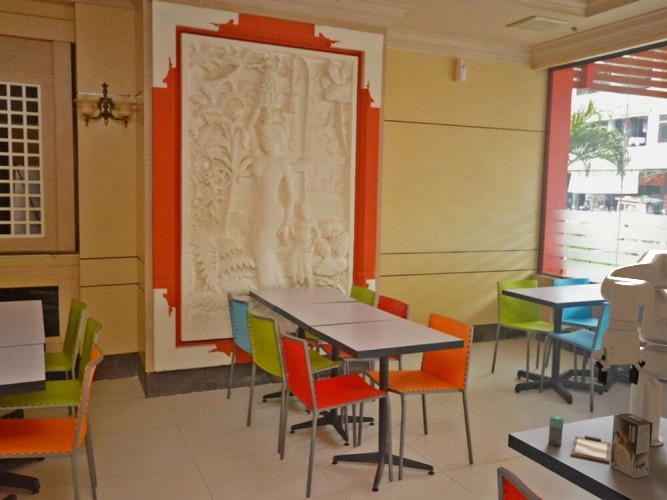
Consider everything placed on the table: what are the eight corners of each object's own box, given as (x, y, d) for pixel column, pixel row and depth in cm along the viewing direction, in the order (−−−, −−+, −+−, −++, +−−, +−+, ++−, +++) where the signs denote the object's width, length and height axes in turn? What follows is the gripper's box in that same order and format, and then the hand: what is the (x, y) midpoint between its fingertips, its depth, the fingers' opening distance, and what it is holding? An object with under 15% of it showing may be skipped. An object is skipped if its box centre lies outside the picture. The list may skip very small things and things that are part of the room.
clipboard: (575, 438, 206) (575, 433, 206) (610, 445, 202) (611, 440, 201) (570, 455, 192) (571, 450, 192) (609, 463, 187) (609, 458, 187)
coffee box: (649, 475, 180) (654, 422, 179) (634, 479, 178) (638, 425, 176) (623, 462, 189) (628, 412, 187) (608, 465, 186) (612, 414, 185)
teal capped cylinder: (548, 440, 204) (550, 414, 203) (562, 443, 202) (564, 416, 201) (547, 445, 200) (549, 418, 199) (560, 448, 198) (562, 421, 197)
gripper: (641, 322, 180) (636, 379, 182) (587, 322, 177) (582, 379, 179) (658, 328, 173) (653, 387, 174) (602, 328, 170) (597, 388, 172)
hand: (617, 383), depth 177 cm, fingers open, 9 cm apart
